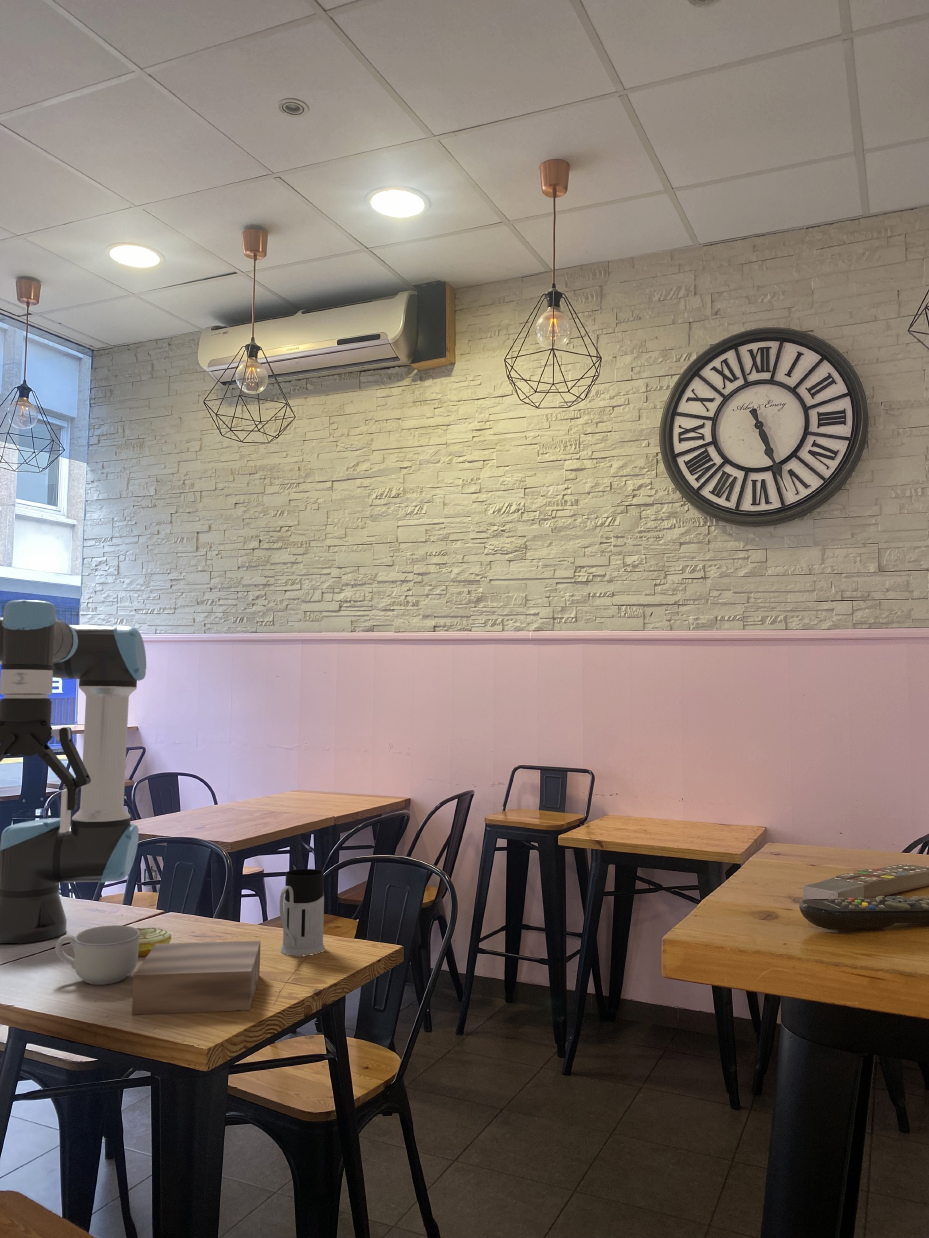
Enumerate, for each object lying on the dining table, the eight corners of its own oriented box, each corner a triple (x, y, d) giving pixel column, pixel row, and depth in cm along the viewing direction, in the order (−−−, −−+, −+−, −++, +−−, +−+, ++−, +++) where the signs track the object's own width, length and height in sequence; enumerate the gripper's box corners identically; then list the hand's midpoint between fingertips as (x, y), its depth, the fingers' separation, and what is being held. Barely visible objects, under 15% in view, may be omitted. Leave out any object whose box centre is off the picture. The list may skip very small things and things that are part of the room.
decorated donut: (165, 941, 179) (166, 922, 180) (174, 954, 170) (175, 934, 170) (111, 947, 175) (112, 927, 175) (116, 961, 165) (118, 940, 166)
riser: (154, 978, 154) (156, 943, 155) (259, 975, 157) (260, 940, 158) (131, 1014, 137) (133, 974, 137) (250, 1009, 139) (251, 970, 140)
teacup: (148, 971, 159) (150, 926, 159) (119, 991, 148) (121, 942, 149) (75, 968, 160) (77, 923, 161) (41, 987, 149) (43, 938, 150)
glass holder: (332, 946, 176) (334, 869, 178) (300, 966, 163) (303, 883, 164) (292, 942, 179) (294, 867, 180) (258, 961, 165) (260, 880, 167)
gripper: (-69, 696, 135) (-77, 837, 133) (101, 697, 139) (95, 834, 137) (-47, 696, 143) (-55, 829, 141) (113, 697, 146) (108, 826, 144)
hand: (19, 832), depth 139 cm, fingers open, 13 cm apart
